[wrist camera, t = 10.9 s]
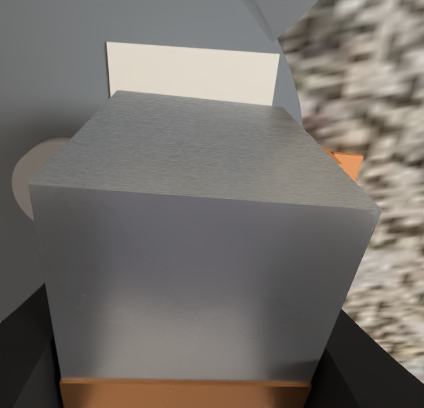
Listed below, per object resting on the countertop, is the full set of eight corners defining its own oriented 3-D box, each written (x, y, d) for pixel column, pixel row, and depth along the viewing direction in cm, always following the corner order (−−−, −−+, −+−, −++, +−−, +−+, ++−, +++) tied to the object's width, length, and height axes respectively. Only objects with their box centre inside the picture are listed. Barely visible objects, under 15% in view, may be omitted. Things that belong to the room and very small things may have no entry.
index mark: (345, 198, 17) (347, 201, 17) (319, 196, 17) (321, 199, 17) (360, 154, 16) (363, 156, 16) (332, 151, 16) (334, 154, 15)
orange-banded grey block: (235, 328, 12) (261, 505, 8) (122, 324, 12) (82, 509, 7) (283, 107, 8) (385, 212, 4) (116, 89, 8) (23, 186, 4)
